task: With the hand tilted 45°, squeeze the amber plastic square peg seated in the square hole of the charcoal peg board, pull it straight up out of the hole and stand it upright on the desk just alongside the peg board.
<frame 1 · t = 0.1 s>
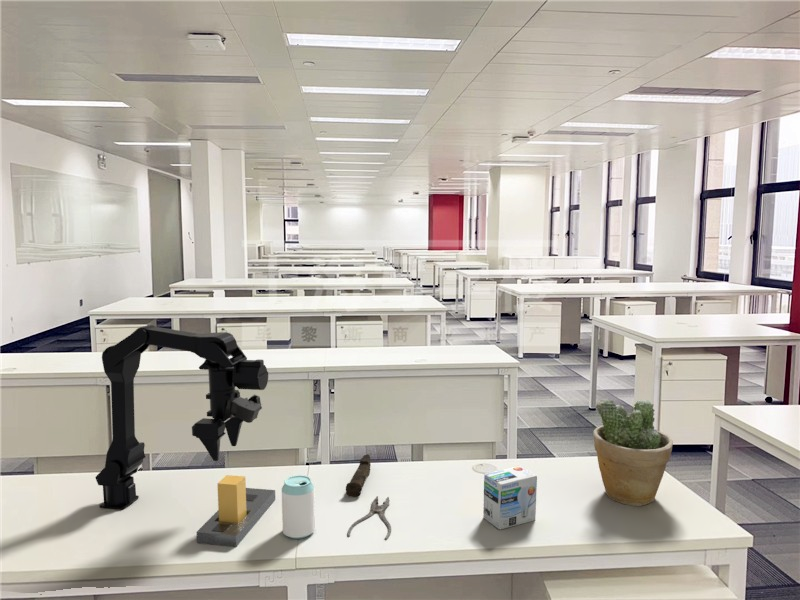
hand: (225, 453, 139), 15 cm above the table, tool pointing down, fingers open, 9 cm apart
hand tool: (359, 482, 158), on the table
pliers: (369, 520, 138), on the table
light bulb box: (509, 519, 137), on the table
can: (299, 533, 131), on the table
amber peg: (233, 526, 134), resting in charcoal peg board
potted plant: (630, 496, 149), on the table
charcoal peg board: (239, 519, 137), on the table
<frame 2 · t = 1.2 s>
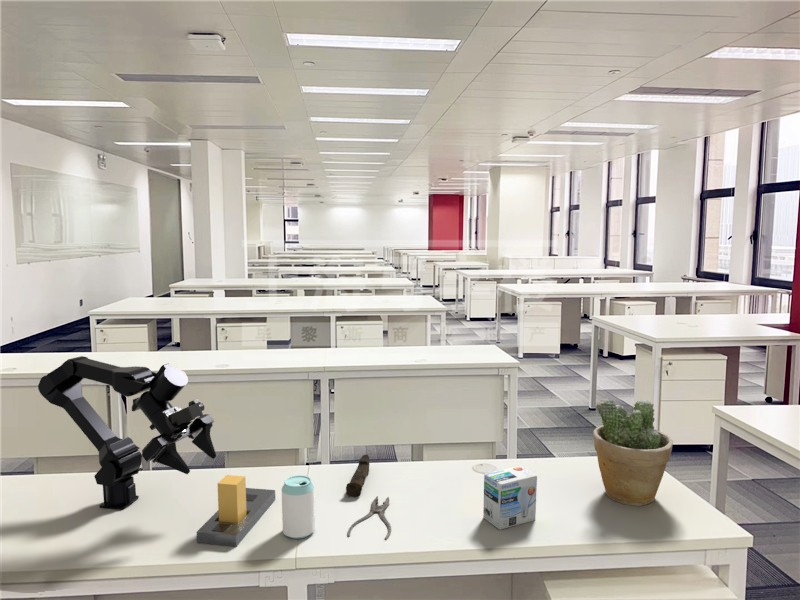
hand: (202, 465, 135), 13 cm above the table, tool tilted 45°, fingers open, 9 cm apart
nothing on the table moved.
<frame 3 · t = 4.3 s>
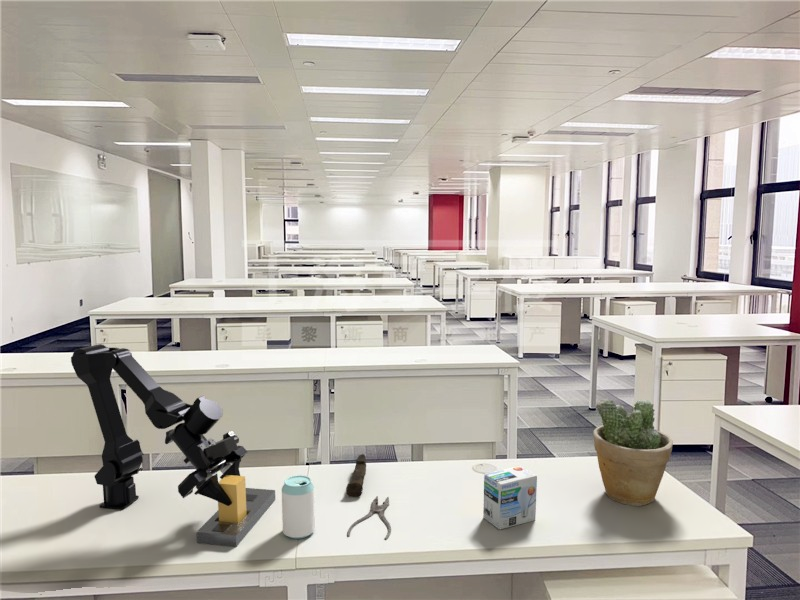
hand: (237, 499, 133), 7 cm above the table, tool tilted 45°, fingers closed on amber peg, 5 cm apart
amber peg: (233, 526, 134), resting in charcoal peg board, touching gripper
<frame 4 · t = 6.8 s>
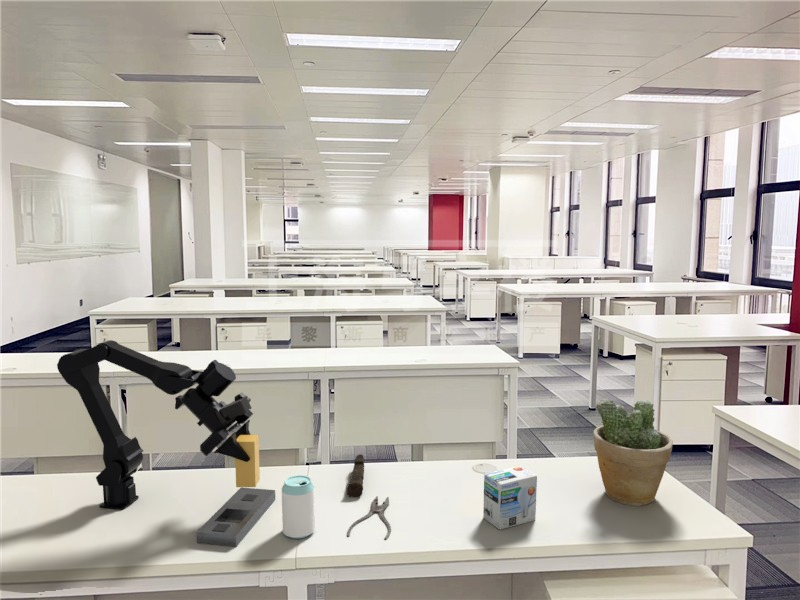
hand: (252, 456, 140), 13 cm above the table, tool tilted 45°, fingers closed on amber peg, 5 cm apart
amber peg: (248, 483, 140), point 7 cm above the table, touching gripper
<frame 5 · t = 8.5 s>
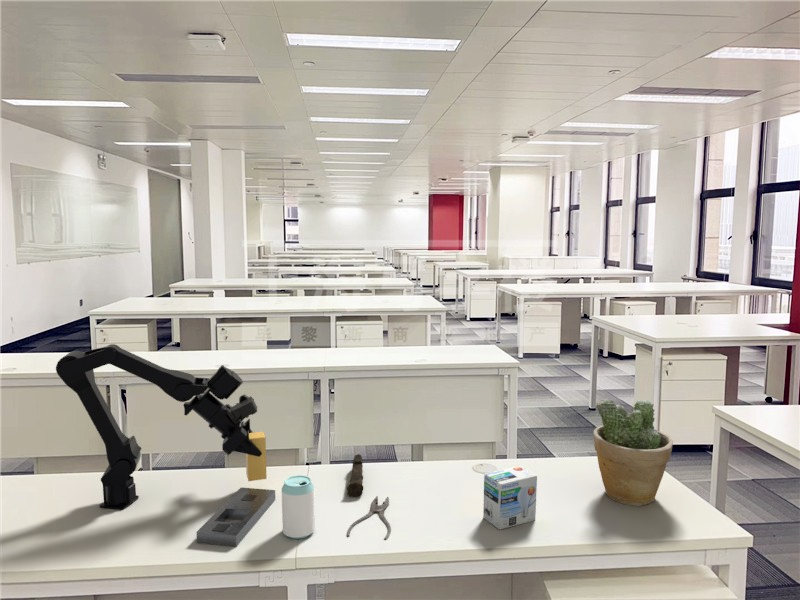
hand: (260, 451, 152), 10 cm above the table, tool tilted 45°, fingers closed on amber peg, 5 cm apart
amber peg: (256, 476, 152), point 3 cm above the table, touching gripper
when the fingers open (8 cm above the table, at t = 9.7 s): amber peg drops 1 cm, on the table.
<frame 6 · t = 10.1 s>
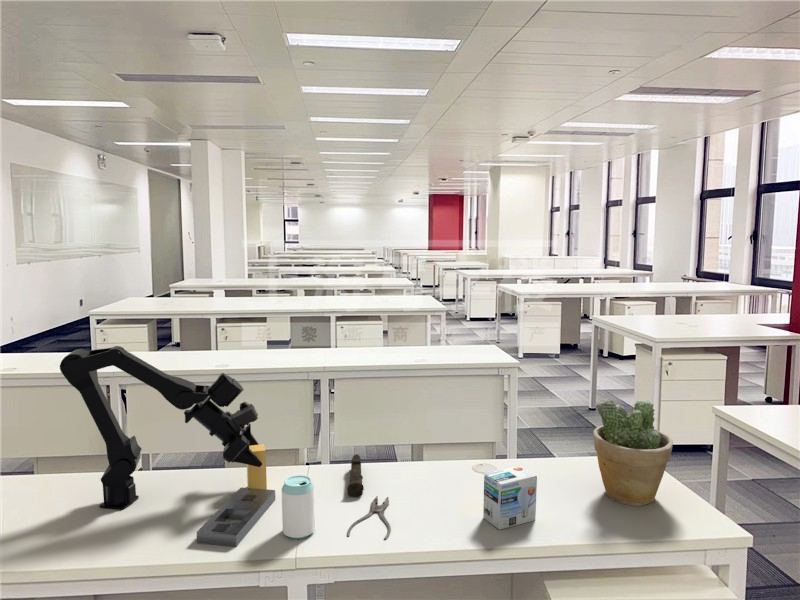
hand: (261, 458, 152), 8 cm above the table, tool tilted 45°, fingers open, 9 cm apart
amber peg: (257, 489, 153), on the table
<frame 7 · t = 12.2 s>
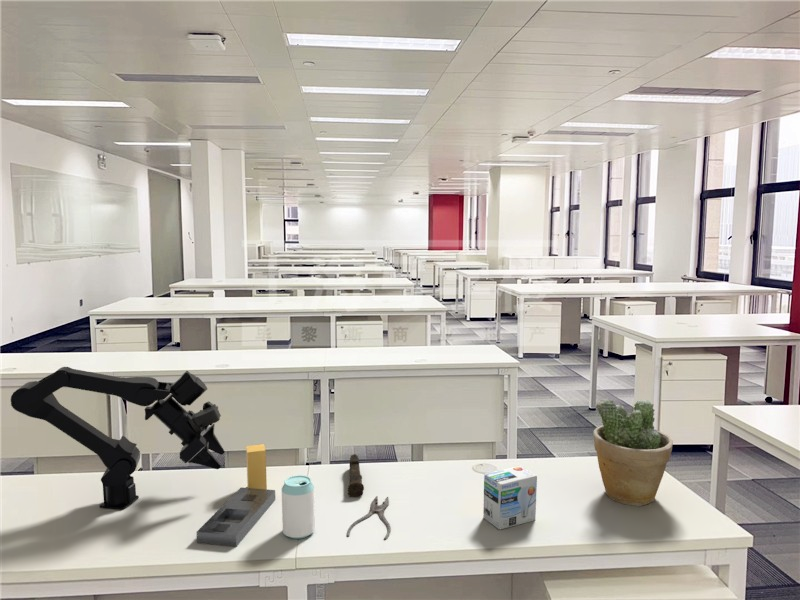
hand: (221, 460, 150), 9 cm above the table, tool tilted 40°, fingers open, 9 cm apart
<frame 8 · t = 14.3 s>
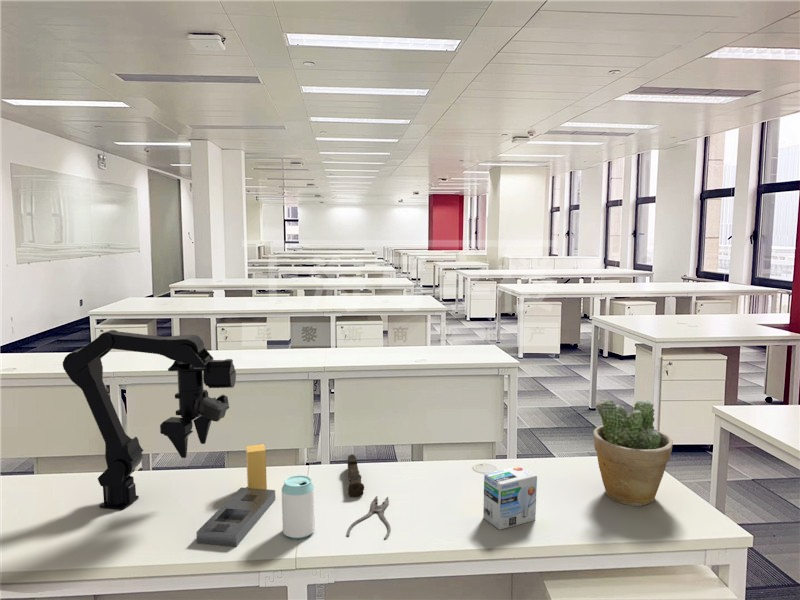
hand: (193, 450, 145), 13 cm above the table, tool pointing down, fingers open, 9 cm apart
at the end: amber peg inside the target area (0.6 cm from its centre), on the table; amber peg tilted 0°; the gripper is holding nothing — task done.
